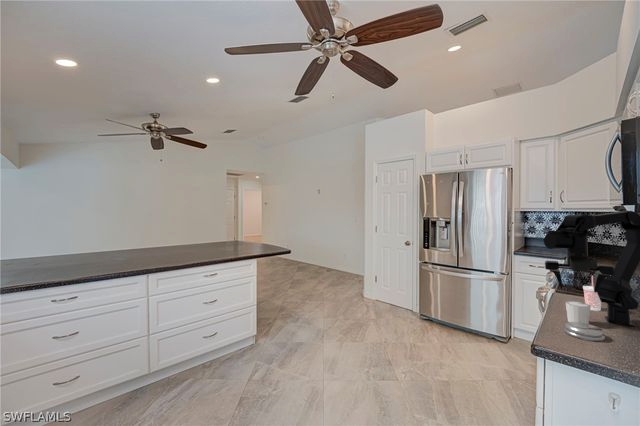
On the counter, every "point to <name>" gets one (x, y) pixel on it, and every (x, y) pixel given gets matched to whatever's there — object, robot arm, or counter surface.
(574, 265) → the robot arm
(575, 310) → the white cup
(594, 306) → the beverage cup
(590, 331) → the duct stub
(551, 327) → the counter surface
